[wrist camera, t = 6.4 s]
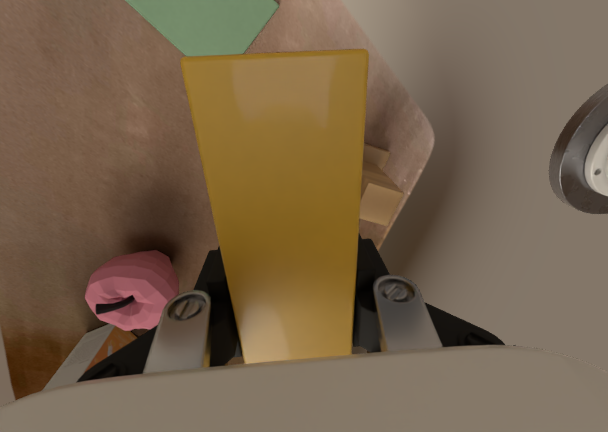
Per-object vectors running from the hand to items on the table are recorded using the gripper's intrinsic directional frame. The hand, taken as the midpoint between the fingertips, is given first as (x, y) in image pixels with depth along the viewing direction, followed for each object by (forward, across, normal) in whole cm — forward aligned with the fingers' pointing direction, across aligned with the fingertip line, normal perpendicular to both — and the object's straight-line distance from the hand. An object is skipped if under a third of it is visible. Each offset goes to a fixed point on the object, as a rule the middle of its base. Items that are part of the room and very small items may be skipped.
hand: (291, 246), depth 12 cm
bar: (-1, 0, 0) cm, 1 cm away
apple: (+22, +18, +15) cm, 32 cm away
